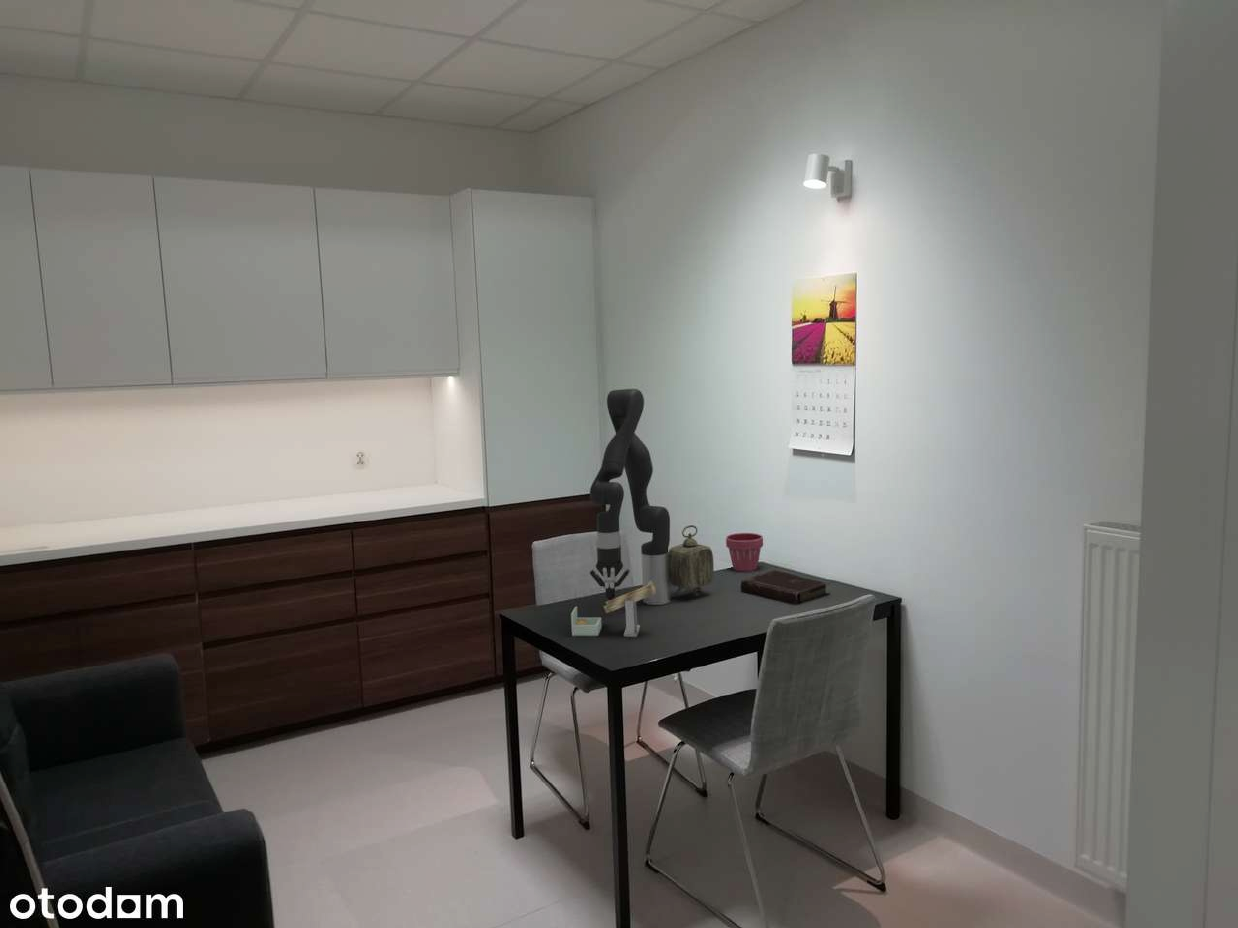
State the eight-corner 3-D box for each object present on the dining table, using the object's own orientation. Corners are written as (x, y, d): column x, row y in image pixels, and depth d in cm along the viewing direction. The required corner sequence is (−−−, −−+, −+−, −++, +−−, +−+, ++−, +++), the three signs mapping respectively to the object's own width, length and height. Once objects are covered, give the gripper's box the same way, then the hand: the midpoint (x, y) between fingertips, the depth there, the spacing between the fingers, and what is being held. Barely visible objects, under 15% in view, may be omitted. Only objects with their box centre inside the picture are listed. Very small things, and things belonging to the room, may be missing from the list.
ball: (588, 621, 277) (584, 630, 278) (578, 617, 277) (575, 626, 278) (586, 624, 274) (583, 633, 275) (577, 620, 274) (573, 629, 275)
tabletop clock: (699, 589, 319) (696, 520, 316) (716, 594, 312) (714, 524, 309) (668, 597, 311) (665, 527, 308) (685, 602, 304) (683, 530, 301)
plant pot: (749, 575, 337) (748, 541, 335) (719, 570, 346) (718, 537, 345) (770, 567, 347) (770, 535, 345) (741, 562, 357) (740, 531, 355)
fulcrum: (623, 636, 270) (622, 601, 269) (627, 627, 279) (625, 593, 278) (636, 636, 270) (635, 601, 268) (639, 627, 279) (638, 592, 277)
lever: (605, 614, 272) (600, 604, 272) (610, 603, 283) (606, 594, 283) (654, 594, 269) (650, 584, 269) (657, 584, 281) (653, 574, 280)
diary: (795, 607, 295) (795, 592, 294) (740, 593, 315) (740, 579, 314) (831, 595, 307) (831, 581, 306) (776, 582, 326) (775, 569, 325)
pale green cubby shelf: (576, 628, 280) (575, 606, 280) (601, 627, 279) (600, 606, 279) (572, 636, 273) (570, 613, 272) (597, 636, 272) (596, 613, 271)
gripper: (631, 542, 282) (632, 595, 284) (589, 542, 283) (591, 595, 286) (628, 547, 274) (630, 602, 276) (585, 547, 276) (588, 602, 278)
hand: (610, 599), depth 281 cm, fingers closed
